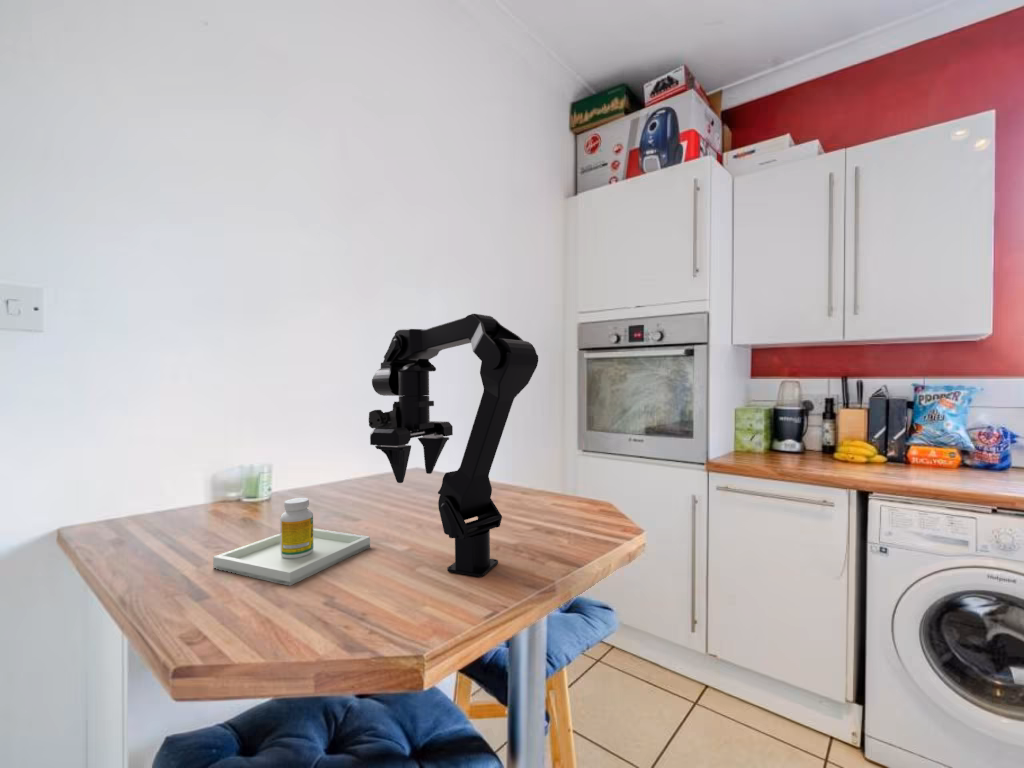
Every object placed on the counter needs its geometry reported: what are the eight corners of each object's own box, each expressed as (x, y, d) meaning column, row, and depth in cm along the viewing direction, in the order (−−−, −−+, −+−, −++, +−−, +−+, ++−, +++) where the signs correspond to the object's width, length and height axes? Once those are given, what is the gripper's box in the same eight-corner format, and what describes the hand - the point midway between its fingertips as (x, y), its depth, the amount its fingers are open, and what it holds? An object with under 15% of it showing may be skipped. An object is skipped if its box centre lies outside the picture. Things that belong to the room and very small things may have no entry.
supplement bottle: (277, 553, 82) (276, 500, 82) (309, 546, 85) (308, 495, 86) (284, 561, 78) (283, 505, 78) (317, 554, 81) (316, 500, 81)
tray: (289, 585, 70) (289, 572, 70) (213, 568, 77) (213, 556, 77) (370, 547, 86) (370, 536, 86) (300, 535, 93) (300, 526, 93)
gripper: (408, 395, 98) (409, 467, 98) (345, 397, 81) (346, 484, 81) (453, 394, 94) (454, 470, 94) (396, 397, 77) (397, 489, 77)
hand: (415, 477), depth 86 cm, fingers open, 9 cm apart
